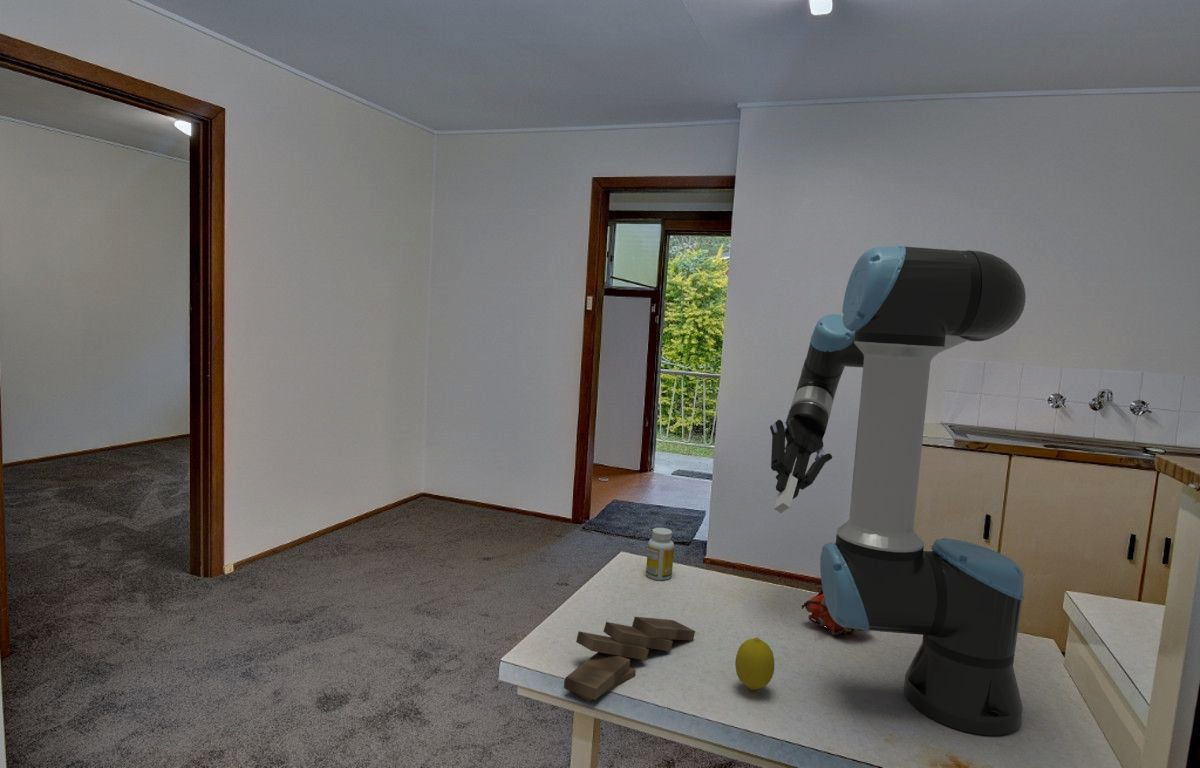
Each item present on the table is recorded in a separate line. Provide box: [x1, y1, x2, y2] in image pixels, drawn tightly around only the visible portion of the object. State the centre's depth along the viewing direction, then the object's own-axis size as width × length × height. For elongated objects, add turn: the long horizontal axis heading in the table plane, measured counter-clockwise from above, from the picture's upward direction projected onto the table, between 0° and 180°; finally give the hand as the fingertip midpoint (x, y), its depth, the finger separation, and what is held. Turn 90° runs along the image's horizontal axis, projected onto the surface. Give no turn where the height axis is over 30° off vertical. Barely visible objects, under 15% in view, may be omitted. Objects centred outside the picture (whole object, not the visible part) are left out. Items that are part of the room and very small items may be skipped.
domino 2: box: [564, 652, 631, 701], centre depth 100 cm, size 5×2×10 cm
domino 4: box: [603, 621, 674, 653], centre depth 110 cm, size 5×2×10 cm
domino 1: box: [575, 630, 650, 661], centre depth 107 cm, size 5×2×10 cm
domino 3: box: [563, 666, 637, 703], centre depth 101 cm, size 5×2×10 cm
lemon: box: [735, 636, 775, 692], centre depth 101 cm, size 6×6×8 cm
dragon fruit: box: [801, 588, 864, 636], centre depth 122 cm, size 8×8×12 cm
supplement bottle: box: [645, 527, 675, 581], centre depth 142 cm, size 5×5×10 cm
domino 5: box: [631, 616, 696, 641], centre depth 114 cm, size 5×2×10 cm
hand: (781, 507), depth 120 cm, fingers closed
